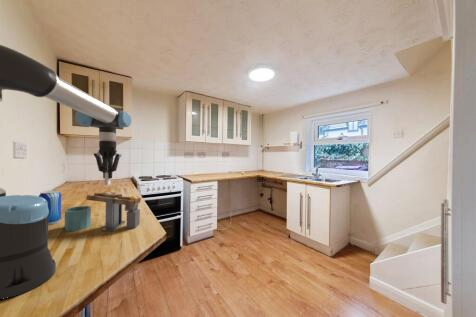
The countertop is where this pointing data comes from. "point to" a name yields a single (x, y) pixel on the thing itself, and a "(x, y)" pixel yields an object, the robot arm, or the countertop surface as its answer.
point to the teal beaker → (77, 218)
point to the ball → (133, 198)
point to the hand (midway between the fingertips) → (107, 184)
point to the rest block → (133, 218)
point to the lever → (115, 200)
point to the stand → (113, 215)
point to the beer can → (53, 205)
